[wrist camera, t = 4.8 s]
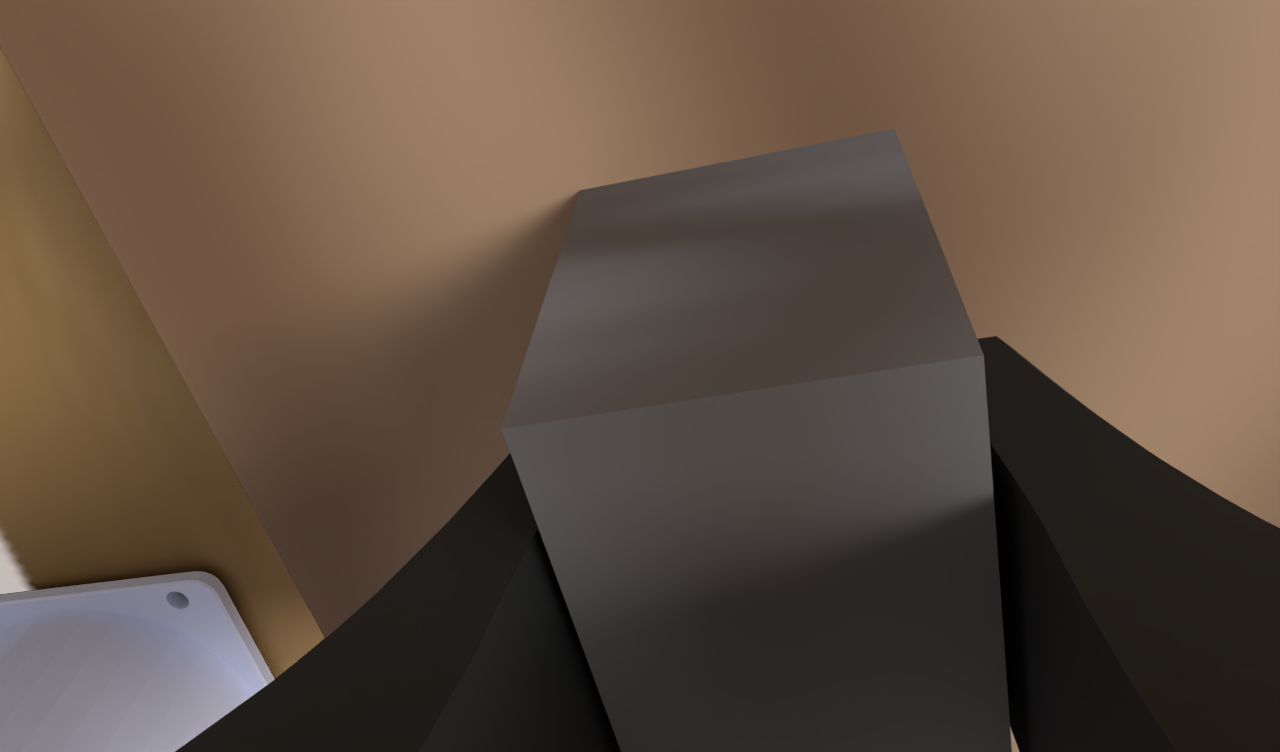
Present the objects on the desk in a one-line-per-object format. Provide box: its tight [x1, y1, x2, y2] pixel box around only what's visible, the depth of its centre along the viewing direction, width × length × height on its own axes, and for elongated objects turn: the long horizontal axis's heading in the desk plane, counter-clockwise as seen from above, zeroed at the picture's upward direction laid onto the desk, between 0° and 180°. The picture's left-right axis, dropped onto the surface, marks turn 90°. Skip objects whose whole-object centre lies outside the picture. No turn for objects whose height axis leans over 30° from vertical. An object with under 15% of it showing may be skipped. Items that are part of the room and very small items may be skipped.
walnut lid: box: [0, 0, 1280, 752], centre depth 10 cm, size 13×13×5 cm
